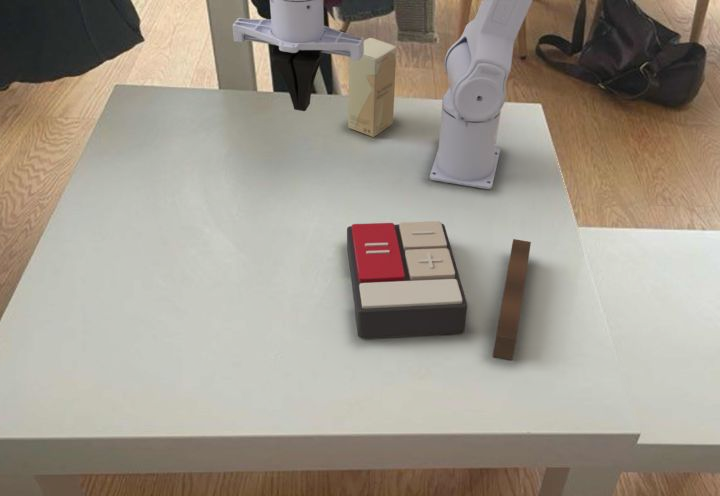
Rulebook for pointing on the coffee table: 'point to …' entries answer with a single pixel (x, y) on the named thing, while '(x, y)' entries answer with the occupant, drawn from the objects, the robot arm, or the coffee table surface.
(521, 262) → the rail
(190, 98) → the coffee table surface
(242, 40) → the robot arm
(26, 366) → the coffee table surface
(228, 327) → the coffee table surface
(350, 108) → the box
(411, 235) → the calculator
